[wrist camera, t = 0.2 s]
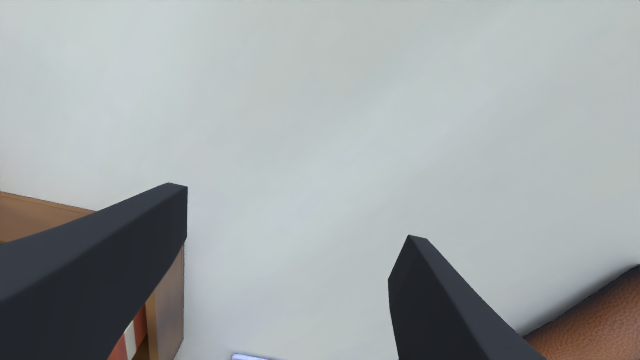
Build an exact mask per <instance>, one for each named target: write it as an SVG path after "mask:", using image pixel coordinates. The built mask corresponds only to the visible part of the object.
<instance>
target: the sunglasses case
mask: <svg viewBox="0 0 640 360" xmlns="http://www.w3.org/2000/svg"><path fill="white" fill-rule="evenodd" d="M637 267H638V268H634V269H632V270H630V271H628V272H626V273H625V274H623V275H622V276H620V277H619V278H618V279H616V280H614V281H612V282H611V283H609V284H608V285H606V286H605V287H603V288H602V289H601V290H599V291H598V292H597V293H595V294H593V295H591V296H589V297H588V298H587V299H586V300H584V302H583V303H582V304H579V305H577V306H575V307H573V308H571V309H570V310H569V311H567V312H566V313H565V314H563V315H562V316H561V317H560V318H558V319H557V320H556V321H553V322H549V323H548V324H546V325H544V326H542V327H541V328H539V329H537V330H535V331H533V332H531V333H529V334H527V335H525V336H524V337H522V338H523V339H524V340H526V341H527V342H528V343H529V344H530V345H531V346H532V347H533V348H535V349H536V350H537V351H538V352H539V353H540V354H541V355H542V356H544V357H545V358H546V359H547V360H640V265H639V266H637Z"/></svg>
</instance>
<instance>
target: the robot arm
mask: <svg viewBox="0 0 640 360" xmlns="http://www.w3.org/2000/svg"><path fill="white" fill-rule="evenodd" d="M187 195H188V187H187V186H182V185H178V184H173V183H165V184H162V185H160V186H157V187H155V188H152V189H150V190H148V191H145V192H143V193H140V194H138V195H136V196H133V197H131V198H129V199H126V200H124V201H122V202H119V203H117V204H114V205H112V206H110V207H107V208H105V209H102V210H100V211H97V212H94V213H92V214H89V215H86V216H84V217H81V218H78V219H76V220H73V221H70V222H68V223H65V224H62V225H60V226H57V227H54V228H51V229H48V230H45V231H42V232H39V233H36V234H33V235H29V236H26V237H23V238H20V239H16V240H13V241H10V242H6V243H3V244H0V360H107V359H108V357H109V356H110V354H111V352H112V351H113V349H114V347H115V345H116V344H117V342H118V341H119V339H120V338H121V336H122V335H123V333H124V332H125V330H126V329H127V327H128V326H129V324H130V323H131V322H132V320H133V319H134V317H135V316H136V315H137V313H138V312H139V311H140V309H141V308H142V306H143V305H144V304H145V302H146V301H147V299H148V298H149V297H150V295H151V294H152V292H153V291H154V290H155V288H156V287H157V286H158V284H159V283H160V281H161V280H162V278H163V277H164V276H165V274H166V273H167V271H168V270H169V268H170V267H171V266H172V264H173V262H174V260H175V259H176V257H177V255H178V253H179V251H180V249H181V247H182V246H183V244H184V242H185V240H186V238H187ZM388 291H389V307H390V314H391V319H392V325H393V330H394V335H395V341H396V346H397V351H398V356H399V360H547V359H546V358H545V357H544V356H542V355H541V354H540V353H539V352H538V351H537V350H536V349H535V348H533V347H532V346H531V345H530V344H529V343H528V342H527V341H526V340H524V339H523V338H522V337H521V336H520V335H519V334H518V333H517V332H515V331H514V330H513V329H512V328H511V327H510V326H509V325H508V324H507V323H506V322H505V321H504V320H503V319H502V318H501V317H500V316H499V315H498V314H497V313H496V312H495V311H494V310H493V309H492V308H491V307H490V306H489V305H488V304H487V303H486V302H485V301H484V300H483V299H482V298H481V297H480V296H479V295H478V294H477V293H476V292H475V291H474V290H473V289H472V288H471V287H470V285H469V284H468V283H467V282H466V281H465V280H464V279H463V278H462V277H461V276H460V275H459V273H458V272H457V271H456V270H455V269H454V268H453V267H452V266H451V265H450V263H449V262H448V261H447V260H446V259H445V258H444V257H443V256H442V254H441V253H440V252H439V251H438V250H437V249H436V248H435V247H434V246H433V245H432V244H431V243H430V242H429V241H428V240H427V239H426V238H421V237H417V236H412V235H408V236H407V238H406V241H405V243H404V245H403V247H402V249H401V252H400V254H399V256H398V258H397V261H396V263H395V265H394V267H393V269H392V272H391V274H390V276H389V278H388ZM231 360H267V359H262V358H257V357H252V356H246V355H241V354H233V355H232V357H231Z"/></svg>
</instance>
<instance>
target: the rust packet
mask: <svg viewBox="0 0 640 360" xmlns="http://www.w3.org/2000/svg"><path fill="white" fill-rule="evenodd" d="M147 332H148V330H147V317H146V305H145V304H144V305H143V306H142V308H141V309H140V311H139V312H138V313H137V315H136V316H135V317H134V319H133V320H132V322H131V323H130V324H129V326H128V327H127V329H126V330H125V332H124V333H123V335H122V336H121V338H120V339H119V341H118V342H117V344H116V345H115V347H114V349H113V351H112V352H111V354H110V356H109V357H108V359H107V360H131V359H132V358H133V356H134V354H135V353H136V350H137V349H138V347H139V345H140V344H141V342H142V340H143V339H144V337H145V336H146V334H147Z"/></svg>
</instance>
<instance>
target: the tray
mask: <svg viewBox="0 0 640 360" xmlns="http://www.w3.org/2000/svg"><path fill="white" fill-rule="evenodd" d="M94 212H97V211H92V210H87V209H82V208H78V207H73V206H68V205H63V204H58V203H53V202H49V201H44V200H39V199H34V198H29V197H25V196H20V195H15V194H10V193H5V192H1V191H0V244H3V243H6V242H10V241H13V240H16V239H20V238H23V237H26V236H29V235H33V234H36V233H39V232H42V231H45V230H48V229H51V228H54V227H57V226H60V225H62V224H65V223H68V222H70V221H73V220H76V219H78V218H81V217H84V216H86V215H89V214H92V213H94ZM145 305H146V317H147V330H148V332H147V334H146V336H145V337H144V339H143V340H142V342H141V344H140V345H139V347H138V349H137V350H136V353H135V354H134V356H133V358H132V359H131V360H173V359H174V357H175V355H176V353H177V351H178V349H179V347H180V345H181V343H182V341H183V307H184V244H183V246H182V247H181V249H180V251H179V253H178V255H177V257H176V259H175V260H174V262H173V264H172V266H171V267H170V268H169V270H168V271H167V273H166V274H165V276H164V277H163V278H162V280H161V281H160V283H159V284H158V286H157V287H156V288H155V290H154V291H153V292H152V294H151V295H150V297H149V298H148V299H147V301H146V302H145Z"/></svg>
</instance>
